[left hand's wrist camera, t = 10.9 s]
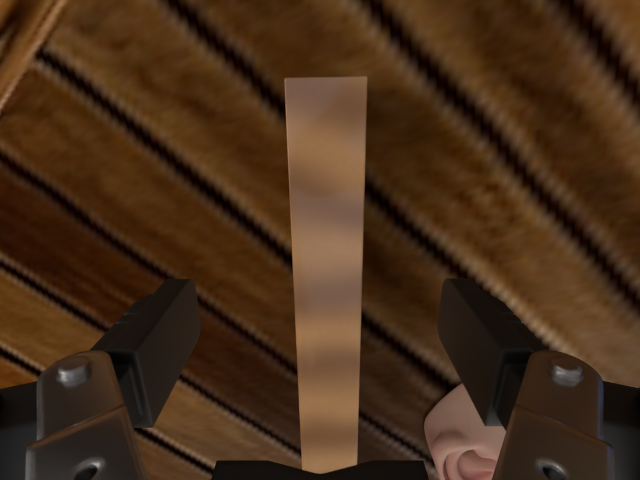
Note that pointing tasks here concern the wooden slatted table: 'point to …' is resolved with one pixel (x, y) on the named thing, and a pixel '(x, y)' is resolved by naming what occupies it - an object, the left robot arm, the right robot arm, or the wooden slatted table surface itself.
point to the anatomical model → (462, 439)
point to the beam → (327, 259)
